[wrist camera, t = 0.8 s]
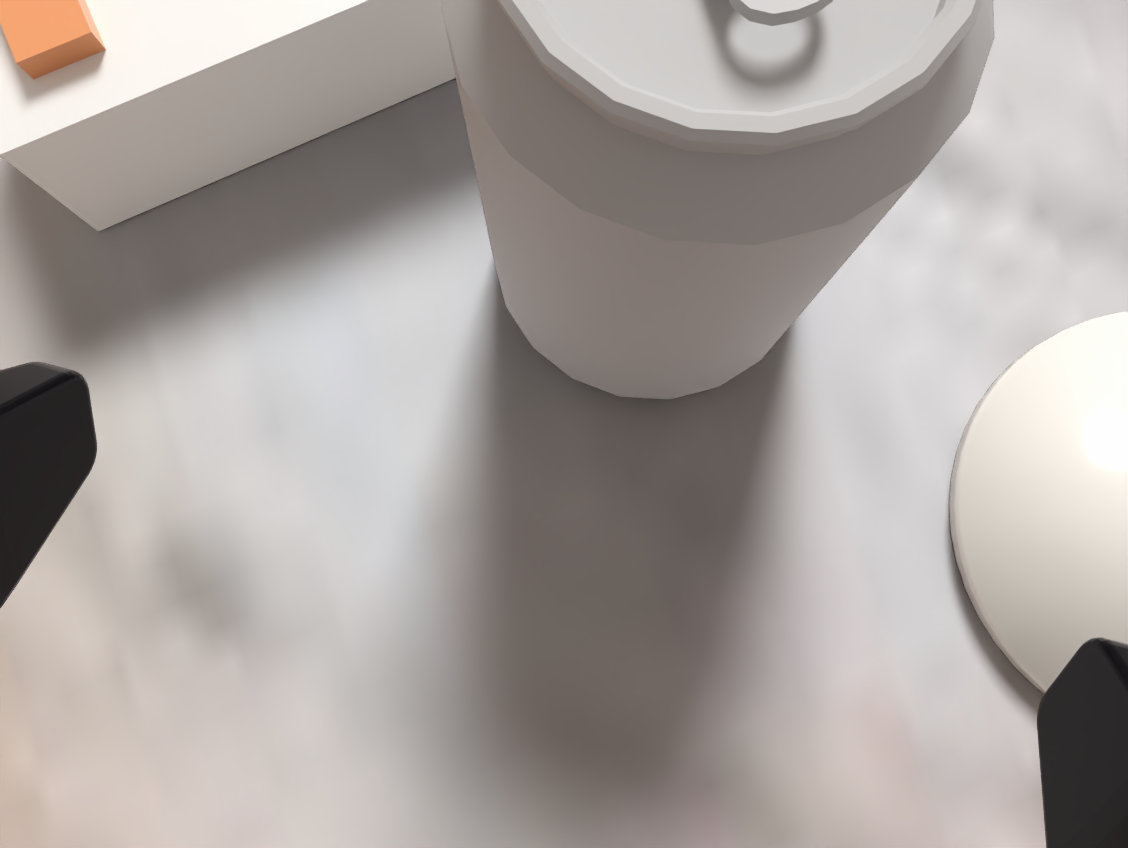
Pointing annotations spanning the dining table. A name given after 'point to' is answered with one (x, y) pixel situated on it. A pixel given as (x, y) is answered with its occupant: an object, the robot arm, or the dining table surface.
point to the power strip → (195, 87)
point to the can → (695, 163)
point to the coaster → (1048, 499)
